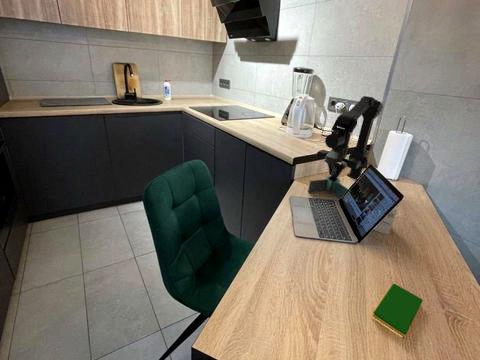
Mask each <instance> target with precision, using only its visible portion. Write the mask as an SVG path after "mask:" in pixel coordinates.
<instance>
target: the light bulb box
mask: <svg viewBox="0 0 480 360" xmlns="http://www.w3.org/2000/svg"><path fill="white" fill-rule="evenodd" d="M367 202H368V201H367V200H366V199H365V202H364V204H365V203H367ZM398 207H399V204H398V205H397V206H396V207H395V208H394V209H393V210H392V211H391V212H390V213H389V214H388V215H387V216H386V217H385V218H384V219H383V220H382V221H381V222H380V223H379V224H378V225H377V227H376V228H375V229H374V230H373V231H376V232H378V233H382V234H384V235H388V236H389V235H390V232H391V229H392V227H393V223H394V220H395V219H396V215H397V212H398Z"/></svg>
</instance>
